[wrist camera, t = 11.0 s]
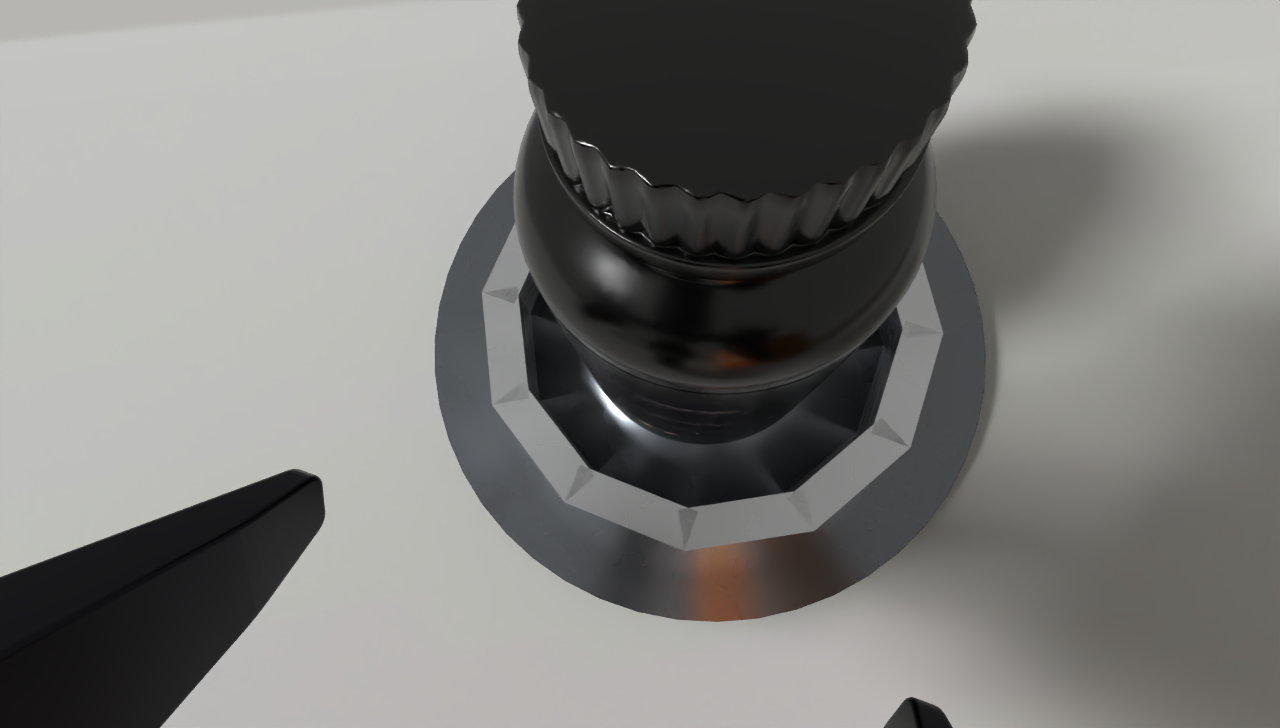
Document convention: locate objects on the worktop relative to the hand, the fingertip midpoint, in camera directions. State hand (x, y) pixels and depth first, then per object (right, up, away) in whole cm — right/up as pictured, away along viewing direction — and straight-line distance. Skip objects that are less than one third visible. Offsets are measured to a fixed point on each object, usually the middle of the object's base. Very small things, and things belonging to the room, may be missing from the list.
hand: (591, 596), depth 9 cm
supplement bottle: (+2, +4, +9) cm, 10 cm away
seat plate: (+3, +4, +10) cm, 11 cm away
